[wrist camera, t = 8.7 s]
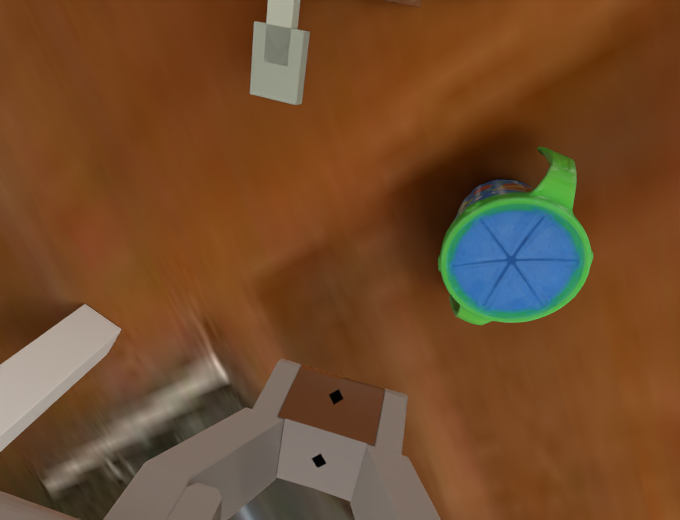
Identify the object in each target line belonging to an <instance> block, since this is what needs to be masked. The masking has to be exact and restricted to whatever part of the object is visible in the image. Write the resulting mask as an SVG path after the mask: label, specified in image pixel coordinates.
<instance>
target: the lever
mask: <svg viewBox="0 0 680 520" xmlns="http://www.w3.org/2000/svg"><path fill="white" fill-rule="evenodd" d="M299 9H300V0H268V6H267V20H266V23H263V22H256V21H254V31H253V49H252V66H251V84H250V94H253V95H257V96H261V97H265V98H269V99H273V100H277V101H281V102H285V103H290V104H294V105H299V104H302V97H303V88H304V80H305V71H306V62H307V53H308V44H309V36H310V32H309V31H304V30H299V29H298V19H299Z"/></svg>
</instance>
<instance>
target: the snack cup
mask: <svg viewBox="0 0 680 520" xmlns="http://www.w3.org/2000/svg"><path fill="white" fill-rule="evenodd" d="M537 150H538V151H539V152H540V153H541V154H542V155H544V156H545V158H546V159H547V161H548V162H549V164H550V167H549V170H548V171H547V174H546V175H545V177H544V178H543V180H542V181H541V182H540V184H539V185H538V186H537V187H536V188H535V189H532V188H531V187H529V186H527V185H526V184H524V183H522V182H519V181H516V180H515V181H513V180H493V181H490V182H487V183H485V184H481V185H479V186H478V187H476V188H475V189H473V191H472V192H471V193H470V194H469V195H468V196H467V197H466V198H465V199H464V201H463V202H462V204H461V206H460V208H459V210H458V213H457V215H456V218H455V220H454V221H453V223H452V224H451V226H450V227H449V229H448V230H447V232H446V234H445V237H444V240H443V243H442V247H441V253H440V255H439V257H438V270H439V271H440V272H441V274H442V278H443V282H444V284H445V286H446V288H447V290H448V291H449V293H450V295H449V298H450V303H451V307H452V310H453V312H454V314H455V316H457V317H458V318H460V319H462V320H464V321H467V322H469V323H472V324H475V325H483V324H486V323H488V322H490V321H499V322H526V321H531V320H535V319H538V318H541V317H544V316H546V315H549V314H551V313H553V312H555V311H557V310H558V309H560V308H561V307H563V306H564V305H565V304H567V303H568V302H569V301H570V300H571V299H572V298H574V297H575V296H576V294H577V293H578V292H579V290H580V289H581V287H582V286H583V284H584V282H585V280H586V278H587V276H588V273H589V269H590V265H591V264H592V260H593V252H592V250H591V247H590V243H589V240H588V237H587V235H586V232H585V230H584V229H583V227H582V225H581V224H580V222H579V221H578V220H577V219H576V217H575V216H574V214H573V210H572V208H573V203H574V198H575V191H576V181H577V177H576V167H575V162H574V160H573V159H571V158H569V157H567V156H564V155H561V154H560V153H557V152H554V151H553V150H550V149H548V148H545V147H538V148H537Z"/></svg>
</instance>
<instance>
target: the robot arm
mask: <svg viewBox="0 0 680 520" xmlns="http://www.w3.org/2000/svg"><path fill="white" fill-rule="evenodd" d="M407 400H408V397H407V394H403V393H400V392H396V391H392V390H389V389H385V390H384V388H381V387H377V386H374V385H370V384H367V383H363V382H359V381H356V380H352V379H349V378H345V377H341V376H338V375H335V374H331V373H328V372H325V371H322V370H319V369H315V368H312V367H309V366H306V365H303V364H302V365H301V364H298V363H295V362H292V361H288V360H285V359H281V360H279V361H278V362H277V364H276V366H275V368H274V370H273V372H272V374H271V375H270V377H269V379H268V381H267V383H266V385H265V387H264V388H263V390H262V392H261V394H260V396H259V398H258V400H257V401H256V403H255V405H254V407H253V409H249V408H244V409H243V410H241V411H239V412H237V413H235V414H233V415H232V416H230V417H228V418H226V419H224V420H222V421H220V422H219V423H217V424H215V425H213V426H211V427H209V428H208V429H206V430H204V431H202V432H200V433H198V434H197V435H195V436H193V437H191V438H189V439H187V440H185V441H184V442H182V443H180V444H178V445H176V446H174V447H173V448H171V449H169V450H167V451H165V452H163V453H162V454H160V455H158V456H156V457H154V458H152V459H150V460H149V461H147V462H145V463H144V465H143V466H142V467H141V469H140V470H139V471H138V473H137V474H136V476H135V477H134V478H133V480H132V481H131V482H130V484H129V485H128V487H127V488H126V489H125V491H124V492H123V493H122V495H121V496H120V497H119V499H118V500H117V502H116V503H115V504H114V506H113V507H112V508H111V510H110V511H109V513H108V514H107V515H106V517H105V518H104V519H103V520H228V519H229V518H230V517H231V516H232V515H234V514H235V513H236V512H237V511H238V510H240V509H241V508H242V507H243V506H244V505H246V504H247V503H248V502H249V501H250V500H251V499H253V498H254V497H255V496H256V495H257V494H259V493H260V492H261V491H262V490H263V489H265V488H266V487H267V486H268V485H269V484H270V483H272V482H273V481H274V480H275V477H277V478H280V479H284V480H287V481H291V482H294V483H298V484H301V485H304V486H308V487H311V488H314V489H317V490H320V491H323V492H326V493H328V494H331V495H334V496H337V497H340V498H343V499H345V500H348V501H351V503H350V504H351V508H352V511H353V514H354V518H355V520H441V519H440V517H439V515H438V513H437V511H436V509H435V508H434V506H433V504H432V502H431V500H430V498H429V496H428V494H427V492H426V490H425V488H424V487H423V485H422V483H421V481H420V479H419V477H418V475H417V473H416V471H415V469H414V467H413V466H412V464H411V462H410V460H409V458H408V457H406V456H403V455H401V454H402V445H403V436H404V427H405V418H406V409H407ZM0 520H80V519H77V518H74V517H71V516H69V515H66V514H63V513H60V512H57V511H55V510H52V509H49V508H46V507H43V506H41V505H38V504H35V503H32V502H29V501H27V500H24V499H21V498H18V497H15V496H13V495H10V494H7V493H4V492H1V491H0Z"/></svg>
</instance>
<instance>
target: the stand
mask: <svg viewBox="0 0 680 520" xmlns="http://www.w3.org/2000/svg"><path fill="white" fill-rule="evenodd" d="M383 1H387V2H393V3H399V4H404V5H410V6H416V7H420V5H421V0H383Z"/></svg>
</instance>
